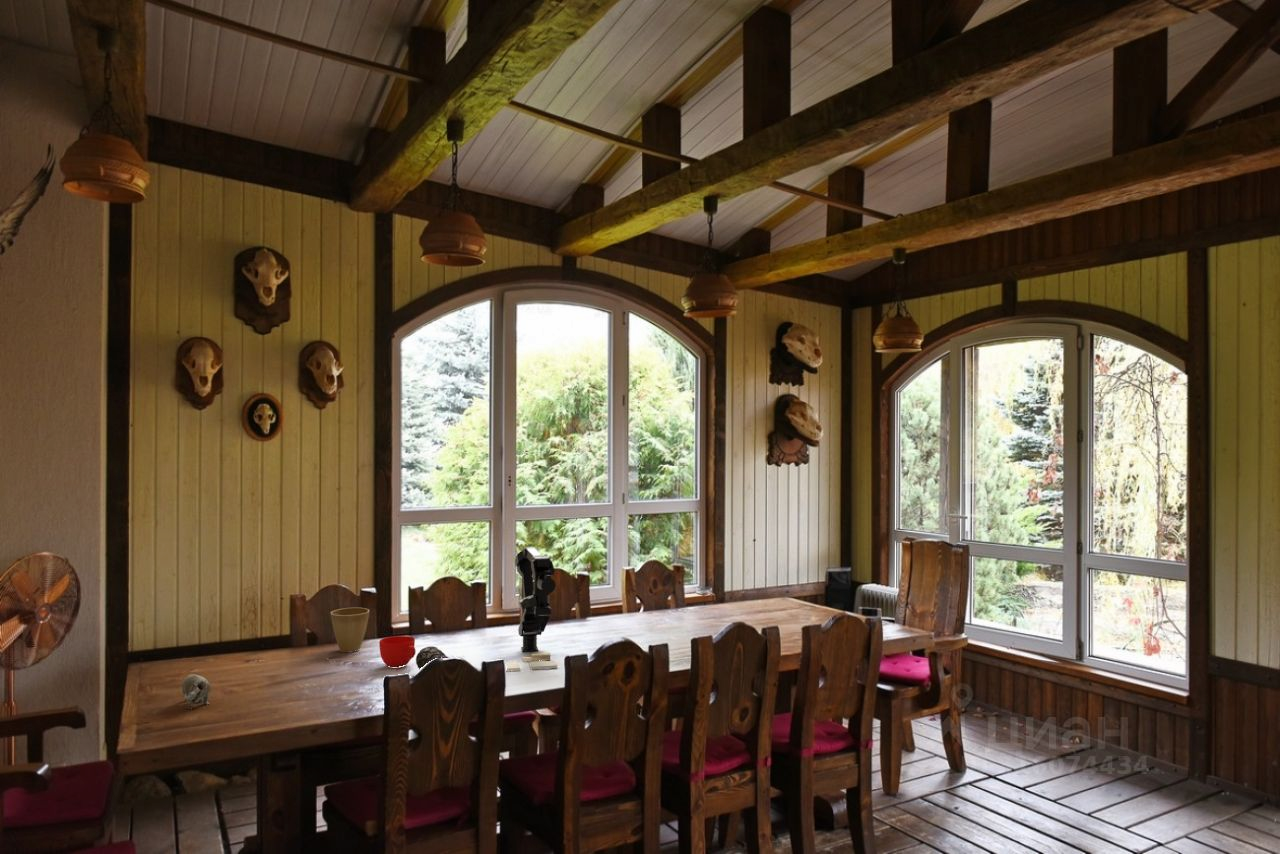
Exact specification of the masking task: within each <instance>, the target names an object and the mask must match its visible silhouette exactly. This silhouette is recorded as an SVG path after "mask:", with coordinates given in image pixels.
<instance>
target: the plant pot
mask: <svg viewBox="0 0 1280 854" xmlns="http://www.w3.org/2000/svg"><path fill="white" fill-rule="evenodd" d="M369 615H370V609H368V608H365V607H345V608H339V609H336V610H335V609H334V610H332V611H330V618H331V624H332V628H333V629H332V630H333V633H334V637H335V640H336V643H337V647H338V649H339V651H340V652H341V651H342V652H341V653H345V652H349V653H351V652H350V651H355V650H358V649H359V650H361V646H362V645H363V641H364V639H365V634H366V630H367V627H368V622H369V617H370V616H369ZM359 650H358V651H359Z"/></svg>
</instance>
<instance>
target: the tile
mask: <svg viewBox="0 0 1280 854" xmlns="http://www.w3.org/2000/svg"><path fill="white" fill-rule="evenodd" d="M505 663H506V666H507V672H512V671H511V670H520V671H521V667H520V663H519V662H518V661H517V662H505ZM508 670H509V671H508Z"/></svg>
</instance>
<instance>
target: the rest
mask: <svg viewBox="0 0 1280 854" xmlns="http://www.w3.org/2000/svg"><path fill="white" fill-rule="evenodd" d="M529 665H530V666H529V668H531V669H538V670H542V669H541V668H557V669H558V663H557V661H556V660H550V661H534V662H529ZM531 669H530V670H531Z"/></svg>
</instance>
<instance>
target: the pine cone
mask: <svg viewBox="0 0 1280 854" xmlns="http://www.w3.org/2000/svg"><path fill="white" fill-rule="evenodd" d="M441 657H442V658H449V659H450V657H449V656H447V655H446V653H444V652H443V651H442V650H441V649H439V648H438V647H437V646H426V647H424V648H421V649H420V650H419V652H418V653H417V654H416V657H415V663H416V666H417V668H418V669H419V670H420V668H421V667H423V666H424V665H425V664H426V663H428V662H429V661H431V660H433V659H435V658H441Z"/></svg>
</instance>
